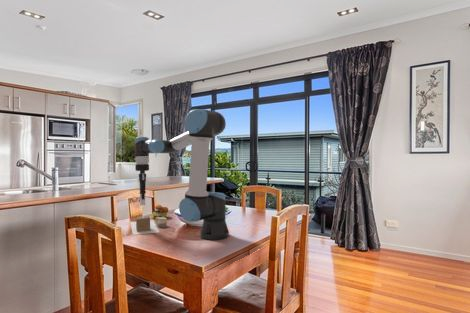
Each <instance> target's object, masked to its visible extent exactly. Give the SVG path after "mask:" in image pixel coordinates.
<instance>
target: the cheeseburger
mask: <svg viewBox="0 0 470 313" xmlns="http://www.w3.org/2000/svg"><path fill="white" fill-rule="evenodd" d="M154 209H155V210H153V211H152V213H151V216H150V219H151V220H156V217H165V218H167V215H168V213H169V208H168V207H167V206H162V204H157V205H155V206H154Z"/></svg>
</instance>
